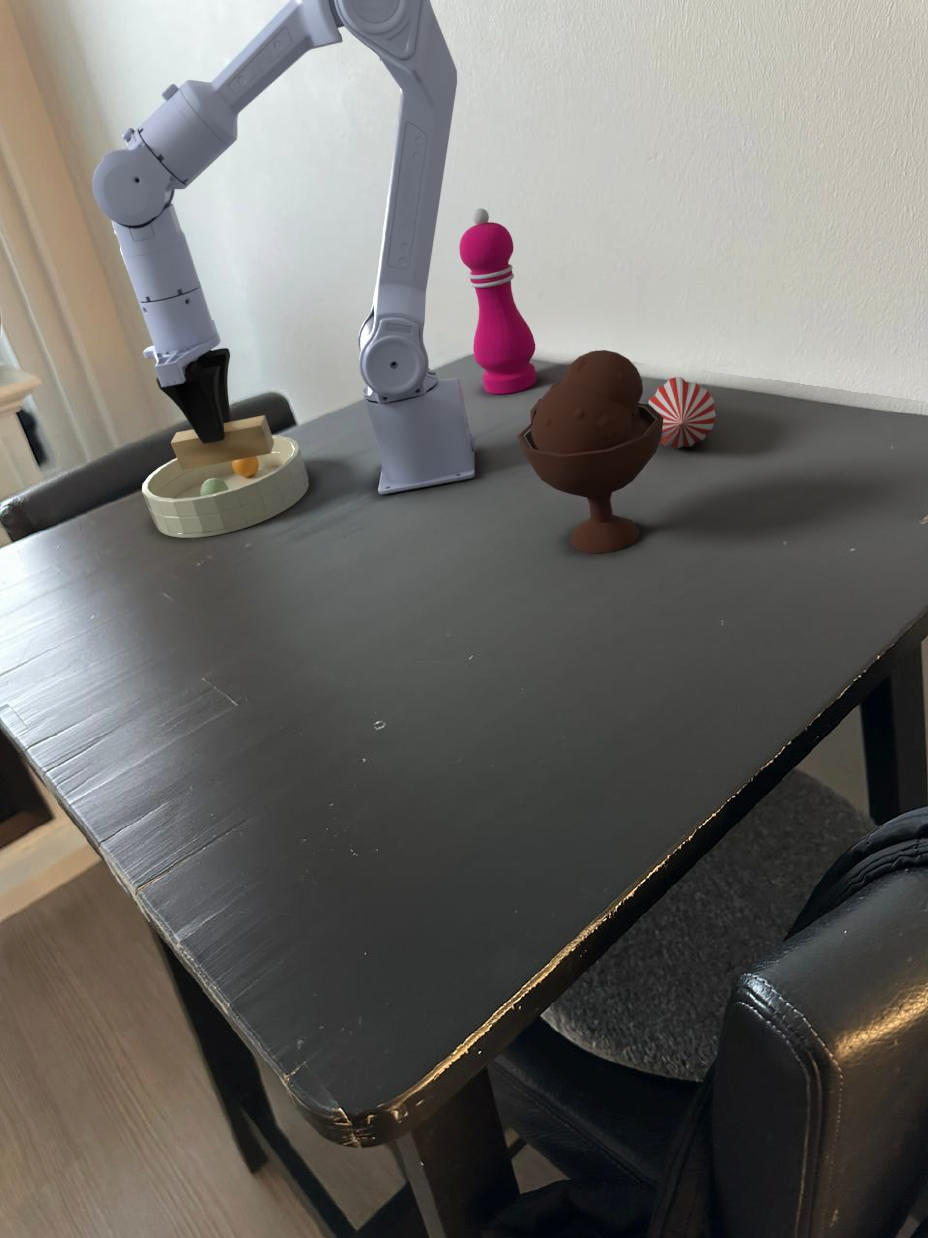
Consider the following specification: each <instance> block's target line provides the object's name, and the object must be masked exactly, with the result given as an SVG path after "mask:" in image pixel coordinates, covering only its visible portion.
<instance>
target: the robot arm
mask: <svg viewBox="0 0 928 1238" xmlns="http://www.w3.org/2000/svg"><path fill="white" fill-rule="evenodd" d="M343 27H344V28H345V29H346V30H347V31H348V32H349V33H350V34H351V35H352V36H353V37H355V38H356V39H357V40H358V41H359V42H360V43H362V44H363V46H365V47H367V48H369V50H371V51H372V52H373V53H375V54H376V55H377V56H378V58H379V61H380V63H381V64H382V66H383V67H384V68H385V70H386V71H387V73H388V74H389V75H390V77H391V79H392V80H393V81H394V82H395V84H396V85H397V87H398V88H399V92H400V93H399V94H400V95H399V103H398V110H397V119H396V126H395V133H394V142H393V143H394V144H393V152H392V157H391V158H392V159H391V166H390V175H389V183H388V191H387V197H386V198H387V199H386V204H385V205H386V206H385V212H384V213H385V214H384V221H383V230H382V238H381V245H380V253H379V260H378V261H379V262H378V268H377V269H378V270H377V275H376V282H375V288H374V292H373V299H372V300H373V301H372V306H371V310H370V312H369V313H368V316H367V317H366V318H365V320H364V321H363V323H362V324H361V327H360V329H359V332H358V338H357V339H358V347H359V352H360V353H359V357H358V369H359V374H360V376H361V379H362V380H363V381H364V384H365V385H366V386H365V387H364V389H362V390H363V391H362V393H363V394H362V395H363V397H364V401H365V405H366V409H367V410H366V411H367V414H368V417H369V421H370V426H371V430H372V434H373V437H374V441H375V445H376V449H377V453H378V458H379V462H380V465H381V471H380V472H381V473H380V478H379V484H378V489H377V492H378V494H379V495H387V494H393V493H398V492H403V491H410V490H414V489H420V488H427V487H431V486H435V485H442V484H447V483H453V482H459V481H464V480H469V479H473V478H475V476H476V471H475V470H476V468H475V467H476V466H475V464H476V463H475V452H476V451H477V448H476V442H475V438H474V437H475V436H474V434H473V432H471V428H470V424H469V419H468V413H467V408H466V403H465V399H464V393H463V389H462V385H461V382H460V379H459V378H457V377H456V378H455V377H454V378H446V379H445V378H444V379H443V378H438V375H437V373H436V371H435V370H431V369H430V366H429V365H430V364H429V363H430V362H429V361H430V360H429V355H428V352H427V349H426V346H425V343H424V330H425V329H424V328H425V321H426V303H427V302H426V301H427V300H426V298H427V289H428V283H429V281H428V280H429V276H430V267H431V262H432V261H431V260H432V254H433V250H434V249H433V248H434V241H435V235H436V227H437V223H438V222H437V221H438V214H439V207H440V201H441V195H442V187H443V181H444V173H445V166H446V160H447V154H448V147H449V140H450V135H451V126H452V120H453V114H454V107H455V101H456V100H455V99H456V94H457V93H456V92H457V86H458V71H457V66H456V65H455V62H454V59H453V56H452V54H451V52H450V49H449V46H448V44H447V42H446V39H445V37H444V34H443V32H442V29H441V27H440V24H439V21H438V19H437V17H436V14H435V12H434V8H433V6H432V3H431V0H289V1H288V2H287V3H286V4H284V6H283V7H282V8H281V9H280V10H279V11H278V13H276V15H274V16H273V17H272V19H270V20H269V22H268V23H266V25H264V27H263V28H262V29H260V31H259V32H258V33H257V34H256V35H255V36H254V37H253V38H252V39H251V40H250V41H249V42H248V43H247V44H246V45H245V47H243V49H242V50H241V51H240V52H239V53H238V54H237V55H236V56H235V57H234V58H233V59H232V60H231V61H230V62H229V63H228V64H227V65H226V66H225V67H224V69H223V70H222V71H221V72H219V74H217V75H216V77H215V78H214V79H212V81H209V82H208V81H200V80H195V79H189V80H188V79H187V80H185V81H184V82H183V83H182V84H181V85H180V86H179V87H178V86H177V85H176V84H175V83H173V84H172V83H171V84H169V86H167V87H166V88H165V89H164V90H163V91H162V92H161V95H160V96H161V97H162V99H163V100H164V102H163V103H162V104H161V105H160V106H159V107H158V108H157V109H156V110H154V112H153V113H152V114H150V116H149V117H148V118H147V119H145V121H144V122H142V123H141V124H140V126H138V127H137V128H136V130H135V129H134V128H132V127H129V128H127V129H126V130H125V131H124V132H123V133H122V134H121V139H122V140H123V141H124V142H125V145H126V147H125V148H120V149H119V148H117V149H114V150H111V151H108V152H106V153H104V154H103V156H102V157H101V160H100V162H99V164H98V165H97V166H96V168H95V170H94V173H93V175H92V180H91V184H92V185H91V186H92V187H91V188H92V194H93V197H94V201H95V202H96V204H97V206H98V208H99V209H100V210H101V212H102V213H103V214H104V215H105V216H106V217H107V218H109V219H110V220H111V221H110V222H111V225H112V227H113V231H114V234H115V235H116V239H117V242H118V244H119V250H120V254H121V257H122V259H123V262H124V266H125V268H126V271H127V274H128V276H129V280H130V283H131V285H132V288H133V290H134V293H135V296H136V299H137V302H138V306H139V308H140V310H141V314H142V317H143V319H144V321H145V325H146V327H147V330H148V333H149V336H150V339H151V342H152V345H150V346H148V347H146V348H144V350H143V351H142V355H143V357H144V359H145V360H150V359H155V360H156V363H155V365H154V369H155V370H154V371H155V372H156V375H157V377H156V379H155V380H156V383H157V386H158V388H159V390H160V391H162V392H163V393H164V394H165V395H166V396H167V397H168V398H170V400H171V401H173V403H174V404H175V405H176V406H177V407H178V408H179V410H180V411H181V413H182V414H183V415H184V417H185V418H186V420H187V422H188V423H189V425H190V426H191V428H192V429H194V431H195V433H196V434H197V436H198V437H199V439H200V440H201V442H202V443H203V444H206V443H211V442H216V441H221V440H223V439H224V424H223V423H228V422H232V417H231V408H230V399H229V386H228V378H229V377H228V376H229V365H230V360H231V352H230V349H229V348H227V347H223V348H222V347H221V348H217V349H214V348H216V347H217V346H219V345H220V343H221V341H222V340H221V337H220V334H219V331H218V329H217V326H216V322H215V320H214V319H212V315H211V313H210V309H209V306H208V303H207V300H206V296H205V293H204V291H203V288H202V285H201V282H200V279H199V275H198V272H197V269H196V265H195V263H194V260H193V259H194V258H193V256H192V253H191V250H190V247H189V243H188V241H187V238H186V234H185V233H184V231H183V230H182V227H181V224H180V221H179V217H178V215H177V211H176V208H175V205H174V203H173V199H174V197H175V193H176V190H185V189H187V188H188V187H189V186H190V185H191V184H192V183H193V182H194V181H195V180H196V179H197V178H199V176H200V175H201V174H203V172H204V171H206V170H207V169H208V168H209V167H210V166H211V165H212V164H213V163H214V162H215V161H216V160H217V159H218V158H219V157H220V156H222V155H223V154H224V153H225V152H226V151H227V150H228V149H229V148H230V147H231V146H233V144H234V143H235V142H237V140H238V136H239V135H238V133H239V132H238V118H239V114H240V113H241V112H242V111H243V110H244V109H246V107H247V106H249V105H250V104H251V103H252V102H253V101H254V100H255V99H257V97H259V95H261V94H263V92H265V90H267V89H268V88H269V87H271V86H272V84H273V83H274V82H276V81H277V80H278V79H279V78H280V77H281V76H282V75H284V73H285V72H286V71H288V70H289V69H290V68H291V67H292V66H293V65H295V63H296V62H298V61H299V60H300V59H301V58H302V57H303V56H305V54H306V53H308V52H310V51H311V50H314V49H315V50H316V49H320V48H324V47H328V46H332V45H337V44H341V43H343V42H344V40H343V36H342V33H341V32H340V30H339V29H340V28H343Z"/></svg>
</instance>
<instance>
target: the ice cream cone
mask: <svg viewBox="0 0 928 1238" xmlns="http://www.w3.org/2000/svg"><path fill="white" fill-rule="evenodd" d="M648 404H649V405H651V406H652V407H653V408H654V409H655V410H656V411H657V412H658V413H659V414H660V415H661V416H662V417H663V428H662V437H661V439H660V442H661V444H662V445H663V446H664V447H665V446H666V447H671V448H674V449H680V448H682V447H683V448H684V447H686V448H690V447H692V446H693V445H695V444H696V443H697V442H701V441H704V440H705V438H706V436H707V435H708V434H710V433H711V431H712V430H713V428H714V424H715V420H716V417H717V415H716V411H715V399H714V398H713V397H712V395H711V393H710V391H709V390H708V389H705V388H703V387H701V386H700V385H699V384H698V383H696V382H690V381H686V380H685V379H684V378H683V377H681V376H675V377H670V378H669V379H668V380H667V381H666V383H664V384H663V385H660V386H659V387H657V390H656V392H655V393H654V394H653V396H652V397H650V398H649V399H648Z"/></svg>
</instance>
